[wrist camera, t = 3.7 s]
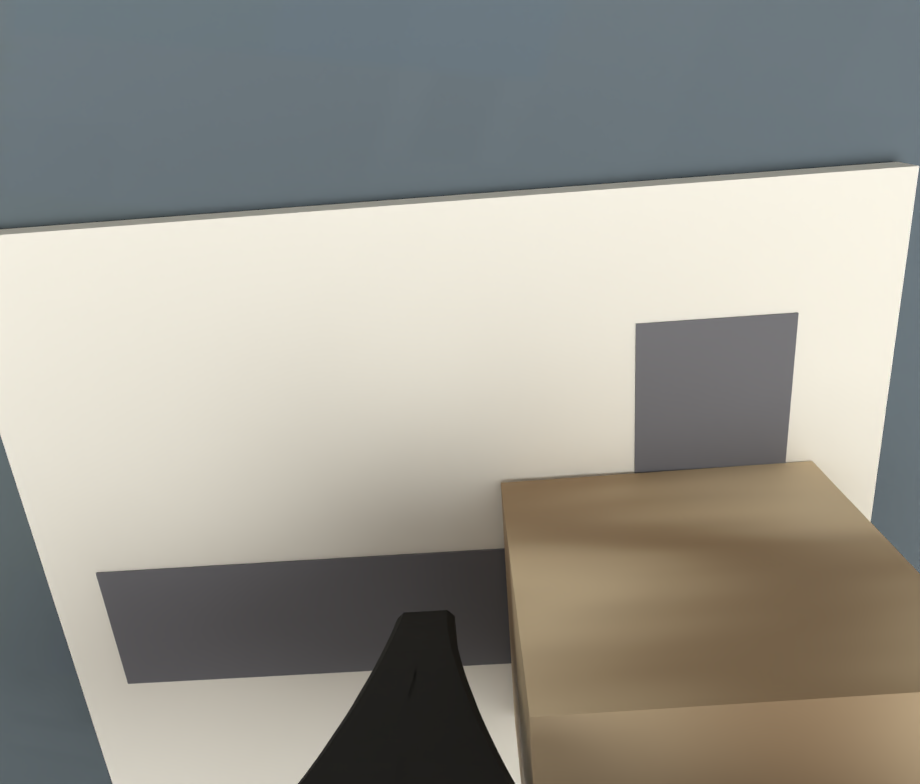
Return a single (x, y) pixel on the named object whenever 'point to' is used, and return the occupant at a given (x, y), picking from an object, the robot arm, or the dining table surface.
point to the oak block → (709, 631)
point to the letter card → (402, 420)
